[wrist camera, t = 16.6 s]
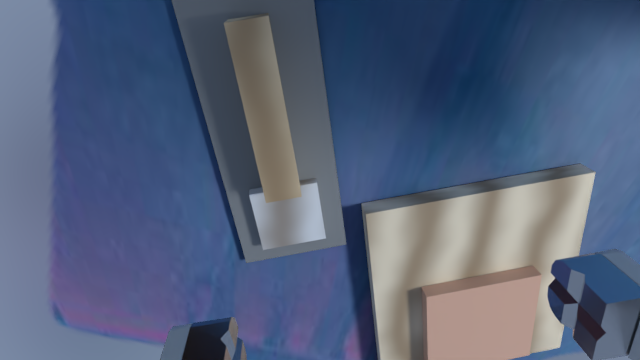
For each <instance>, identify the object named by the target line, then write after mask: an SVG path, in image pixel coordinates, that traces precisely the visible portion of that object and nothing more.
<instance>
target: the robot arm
mask: <svg viewBox="0 0 640 360" xmlns="http://www.w3.org/2000/svg"><path fill="white" fill-rule="evenodd" d="M551 274H552V275H553V276H554V277H555V279H554V280H553V281H552V283H551V284H550V285H549V286H548V294H547V297H548V301H549V305H550V308H551V310H552V312H553V314H554V315H555V317H556V318H557V319H558V320H559V322H560V323H561V324H563V325H565V326H567V327H569V328H571V329H573V339H574V340H575V341H576V342H577V343H578V345H579V346H580V347H581V348H582V349H583V351H584V352H585V353H586V354H587V355H588V357H589V358H590V359H591V360H601V359H607V358H615V357H621V356H627V355H629V356H628V357H629V358H630V359H632V360H640V265H639V264H638V263H637V262H636V261H634V260H633V259H632V258H630V257H629V256H628V255H627V254H625V253H624V252H622V251H620V250H617V249H612V250H606V251H601V252H596V253H591V254H586V255H580V256H575V257H569V258H564V259H559V260H555V261H554V263H553V264H552V267H551ZM237 334H238V326H237V323H236V321H235V318H233V317H230V318H223V319H217V320H210V321H203V322H197V323H193V324H186V325H179V326H173V327H172V328H171V330H170V331H169V333H168V336H167V339H166V342H165V345H164V348H163V352H162V355H161V358H160V360H247V359H246V352H245V347H244V344H243V340H241V339H240V338H238V337H237Z"/></svg>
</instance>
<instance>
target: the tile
mask: <svg viewBox="0 0 640 360" xmlns="http://www.w3.org/2000/svg"><path fill="white" fill-rule="evenodd" d="M541 277H542V275H541V274H540V273H539V271H538V270H537V269H536V268H535V267H534V266H528V267H523V268H518V269H513V270H507V271H502V272H497V273H492V274H487V275H481V276H476V277H471V278H466V279H460V280H455V281H450V282H445V283H440V284H434V285H429V286H424V287H421V288H422V325H423V360H508V359H513V358H518V357H523V356H528V355H530V348H531V342H532V335H533V329H534V322H535V316H536V309H537V303H538V297H539V290H540V284H541Z"/></svg>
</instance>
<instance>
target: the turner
mask: <svg viewBox="0 0 640 360" xmlns="http://www.w3.org/2000/svg"><path fill="white" fill-rule="evenodd" d="M224 27H225V31H226V35H227V39H228V44H229V48H230V52H231V56H232V61H233V65H234V69H235V73H236V78H237V82H238V86H239V90H240V95H241V99H242V103H243V107H244V112H245V116H246V120H247V125H248V129H249V133H250V137H251V142H252V146H253V150H254V154H255V159H256V163H257V167H258V171H259V176H260V180H261V184H262V187H261V188H255V189H250V190H249V197H250V201H251V204H252V208H253V212H254V216H255V220H256V224H257V228H258V232H259V236H260V240H261V244H262V248H263V250H266V249H271V248H277V247H282V246H288V245H293V244H298V243H304V242H309V241H315V240H320V239H325V238H326V235H325V229H324V223H323V217H322V211H321V204H320V198H319V192H318V186H317V181H316V178H311V179H306V180H300V181H299V176H298V171H297V165H296V160H295V154H294V149H293V144H292V138H291V133H290V127H289V122H288V116H287V111H286V106H285V100H284V95H283V89H282V84H281V78H280V73H279V67H278V62H277V57H276V51H275V46H274V40H273V35H272V29H271V24H270V19H269V13H265V14H259V15H253V16H246V17H240V18H234V19H228V20H227V21H225V22H224Z"/></svg>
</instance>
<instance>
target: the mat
mask: <svg viewBox="0 0 640 360" xmlns="http://www.w3.org/2000/svg"><path fill="white" fill-rule="evenodd" d="M172 4H173V7H174V11H175V14H176V18H177V21H178V25H179V28H180V32H181V35H182V39H183V42H184V46H185V49H186V53H187V56H188V60H189V63H190V67H191V70H192V74H193V77H194V81H195V85H196V88H197V92H198V95H199V99H200V102H201V106H202V109H203V113H204V116H205V120H206V123H207V127H208V130H209V134H210V137H211V141H212V144H213V148H214V151H215V155H216V158H217V162H218V165H219V169H220V172H221V176H222V179H223V183H224V186H225V190H226V193H227V197H228V200H229V204H230V207H231V211H232V214H233V218H234V221H235V225H236V228H237V232H238V235H239V239H240V242H241V246H242V249H243V253H244V256H245V260H246V263H249V262H254V261H259V260H265V259H270V258H276V257H281V256H286V255H292V254H297V253H303V252H308V251H313V250H319V249H324V248H329V247H335V246H340V245H346V237H345V230H344V222H343V215H342V207H341V200H340V192H339V185H338V177H337V170H336V162H335V155H334V148H333V140H332V133H331V125H330V118H329V110H328V103H327V95H326V88H325V80H324V73H323V65H322V58H321V50H320V43H319V35H318V28H317V20H316V13H315V5H314V0H172ZM265 13H269V19H270V24H271V29H272V35H273V40H274V46H275V51H276V57H277V62H278V67H279V73H280V78H281V84H282V89H283V95H284V100H285V106H286V111H287V116H288V122H289V127H290V133H291V138H292V144H293V149H294V154H295V160H296V165H297V171H298V176H299V181H300V180H306V179H311V178H316V181H317V186H318V192H319V198H320V204H321V211H322V217H323V223H324V229H325V235H326V238H325V239H320V240H315V241H309V242H304V243H298V244H293V245H288V246H282V247H277V248H271V249H266V250H263V248H262V244H261V240H260V236H259V232H258V228H257V224H256V220H255V216H254V212H253V208H252V204H251V201H250V197H249V190H250V189H255V188H261V187H262V184H261V180H260V176H259V171H258V167H257V163H256V159H255V154H254V150H253V146H252V142H251V137H250V133H249V129H248V125H247V120H246V116H245V112H244V107H243V103H242V99H241V95H240V90H239V86H238V82H237V78H236V73H235V69H234V65H233V61H232V56H231V52H230V48H229V44H228V39H227V35H226V31H225V27H224V22H225V21H227V20H228V19H234V18H240V17H246V16H253V15H259V14H265Z"/></svg>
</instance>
